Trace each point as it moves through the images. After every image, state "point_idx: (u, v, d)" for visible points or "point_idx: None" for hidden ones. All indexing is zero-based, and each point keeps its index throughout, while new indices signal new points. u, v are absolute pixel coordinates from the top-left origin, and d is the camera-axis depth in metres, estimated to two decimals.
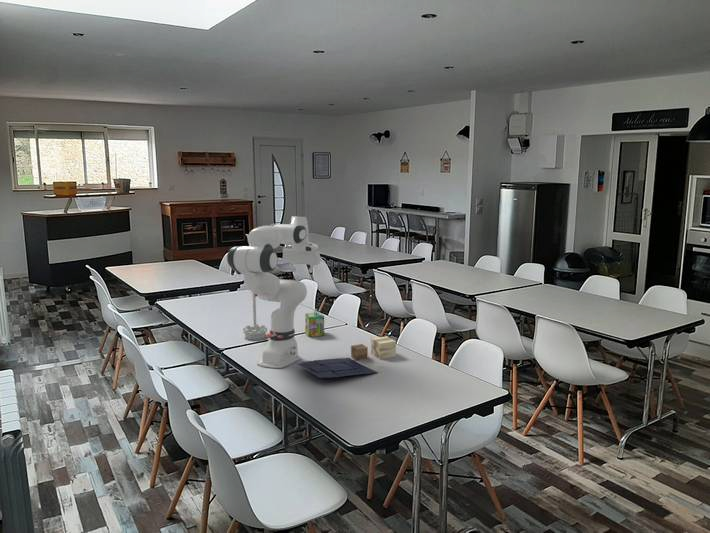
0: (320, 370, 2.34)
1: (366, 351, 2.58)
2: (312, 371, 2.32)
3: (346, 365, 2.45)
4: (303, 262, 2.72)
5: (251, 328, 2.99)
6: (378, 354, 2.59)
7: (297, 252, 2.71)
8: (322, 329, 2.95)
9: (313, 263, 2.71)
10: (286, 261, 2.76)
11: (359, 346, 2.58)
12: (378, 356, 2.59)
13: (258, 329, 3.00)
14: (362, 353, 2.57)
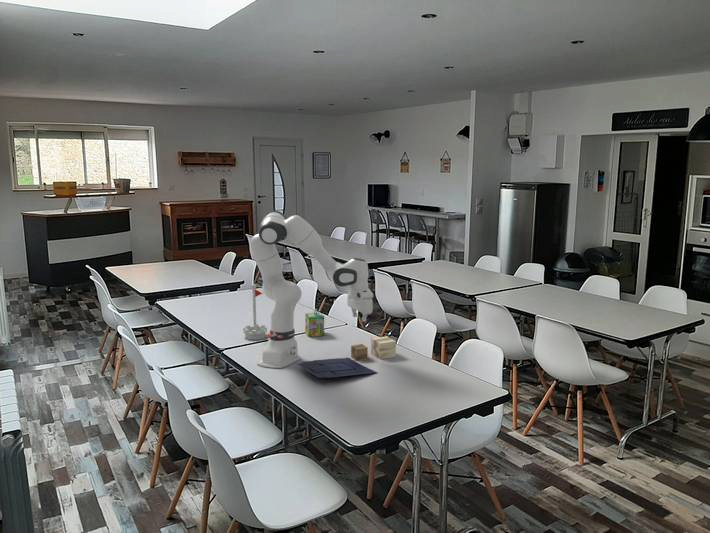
0: (319, 370, 2.34)
1: (366, 351, 2.58)
2: (311, 371, 2.32)
3: (346, 365, 2.45)
4: (357, 309, 2.54)
5: (251, 328, 2.99)
6: (378, 354, 2.59)
7: (353, 297, 2.54)
8: (322, 329, 2.95)
9: (363, 312, 2.49)
10: (348, 304, 2.62)
11: (359, 346, 2.58)
12: (378, 356, 2.59)
13: (258, 329, 3.00)
14: (362, 353, 2.57)
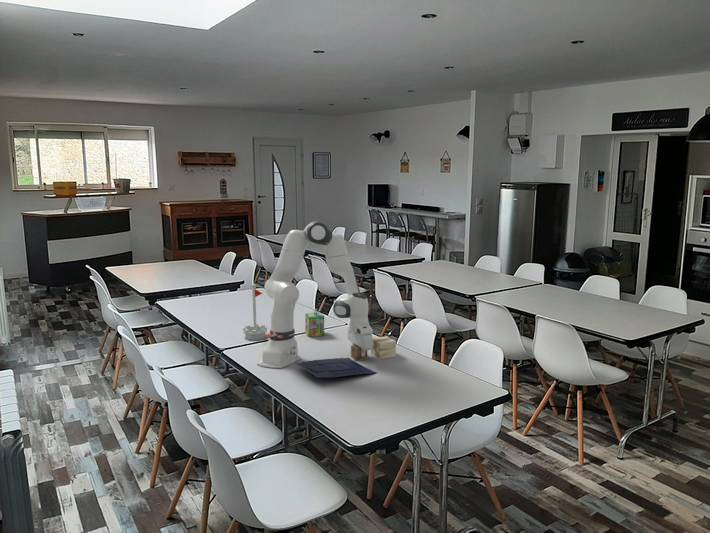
0: (318, 370, 2.34)
1: (366, 351, 2.58)
2: (310, 371, 2.32)
3: (345, 365, 2.45)
4: (357, 344, 2.56)
5: (251, 328, 2.99)
6: (378, 354, 2.59)
7: (353, 332, 2.57)
8: (322, 329, 2.95)
9: (363, 348, 2.51)
10: (349, 338, 2.65)
11: None
12: (378, 356, 2.59)
13: (258, 329, 3.00)
14: None
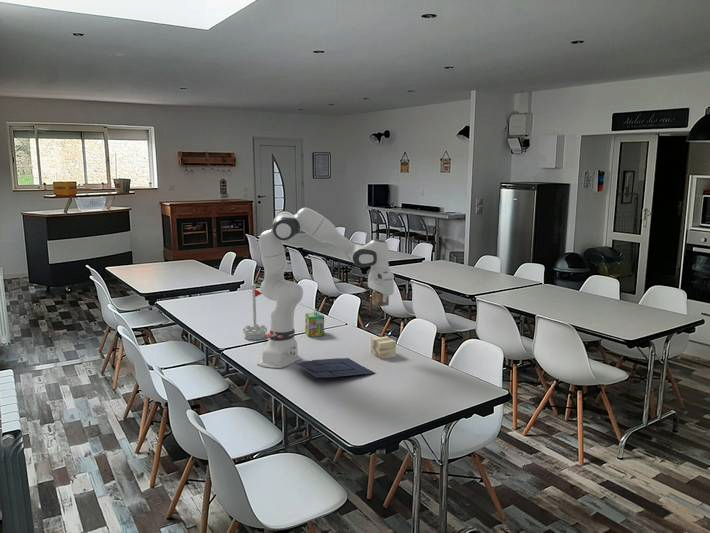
0: (317, 370, 2.34)
1: (387, 297, 2.56)
2: (309, 371, 2.32)
3: (344, 365, 2.45)
4: (378, 290, 2.55)
5: (251, 328, 2.99)
6: (378, 354, 2.59)
7: (373, 278, 2.55)
8: (322, 329, 2.95)
9: (384, 293, 2.50)
10: (369, 286, 2.63)
11: None
12: (378, 356, 2.59)
13: (258, 329, 3.00)
14: None
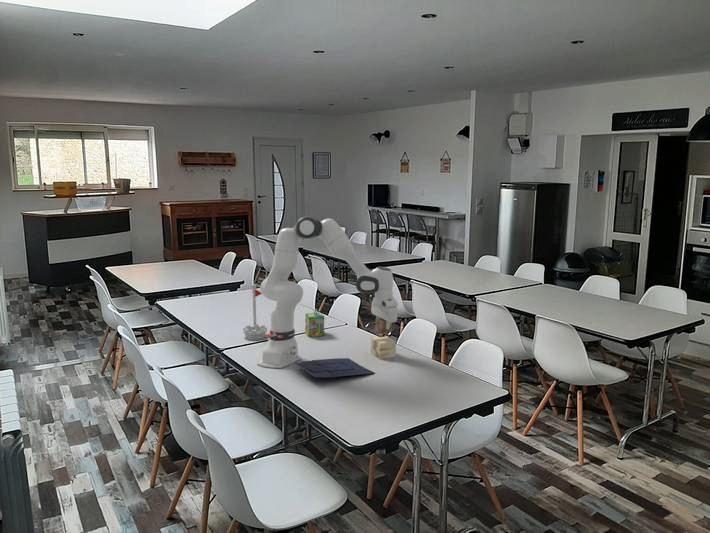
0: (317, 370, 2.34)
1: (391, 324, 2.60)
2: (309, 371, 2.32)
3: (344, 365, 2.45)
4: (382, 317, 2.58)
5: (251, 328, 2.99)
6: (378, 354, 2.59)
7: (377, 305, 2.59)
8: (322, 329, 2.95)
9: (388, 320, 2.53)
10: (373, 312, 2.67)
11: None
12: (378, 356, 2.59)
13: (258, 329, 3.00)
14: None
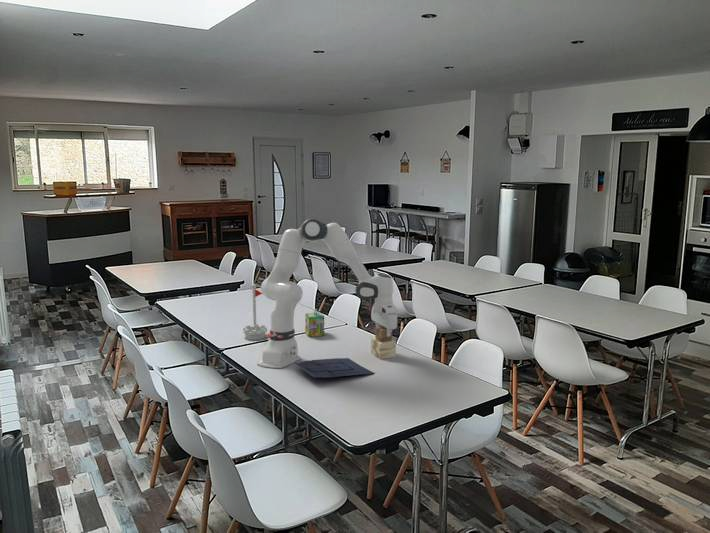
0: (316, 370, 2.34)
1: None
2: (308, 371, 2.32)
3: (343, 365, 2.45)
4: (382, 323, 2.59)
5: (251, 328, 2.99)
6: (378, 354, 2.59)
7: (377, 312, 2.60)
8: (322, 329, 2.95)
9: (388, 327, 2.54)
10: (372, 319, 2.67)
11: (383, 328, 2.61)
12: (378, 356, 2.59)
13: (258, 329, 3.00)
14: None
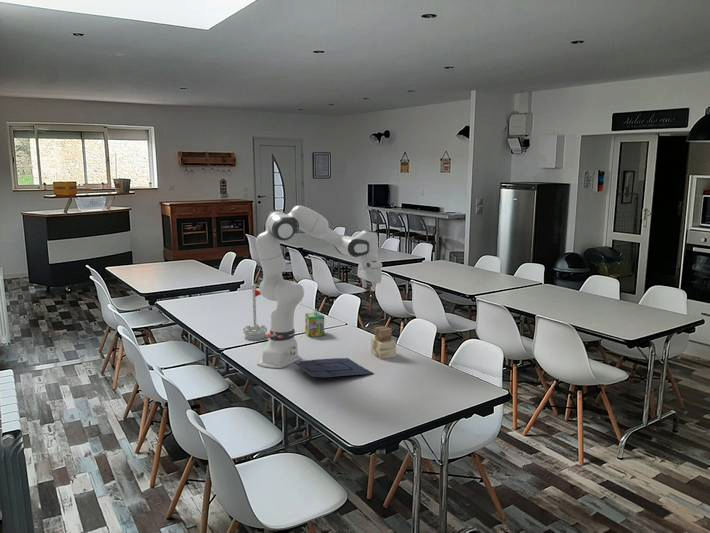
0: (315, 370, 2.34)
1: (390, 332, 2.60)
2: (307, 370, 2.33)
3: (343, 365, 2.45)
4: (367, 278, 2.66)
5: (251, 328, 2.99)
6: (378, 354, 2.59)
7: (363, 267, 2.67)
8: (322, 329, 2.95)
9: (372, 281, 2.61)
10: (359, 275, 2.75)
11: (383, 328, 2.61)
12: (378, 356, 2.59)
13: (258, 329, 3.00)
14: (386, 335, 2.60)
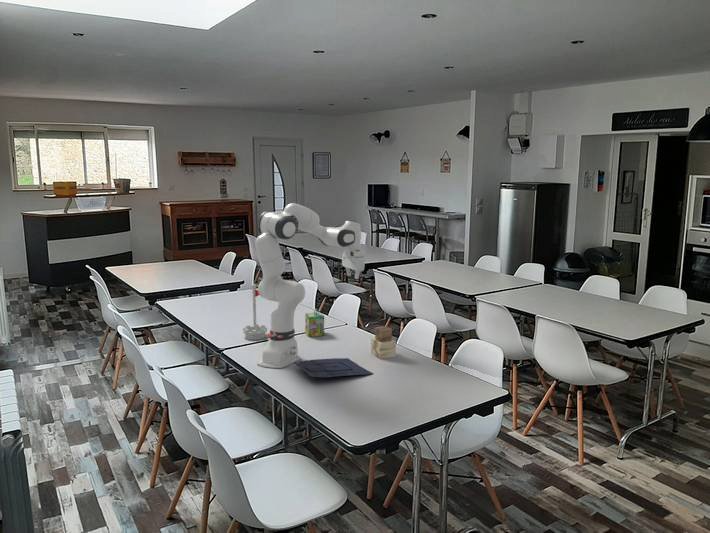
0: (314, 370, 2.34)
1: (390, 332, 2.60)
2: (306, 370, 2.33)
3: (342, 365, 2.45)
4: (351, 267, 2.78)
5: (251, 328, 2.99)
6: (378, 354, 2.59)
7: (347, 256, 2.78)
8: (322, 329, 2.95)
9: (356, 269, 2.73)
10: (343, 264, 2.86)
11: (383, 328, 2.61)
12: (378, 356, 2.59)
13: (258, 329, 3.00)
14: (386, 335, 2.60)
